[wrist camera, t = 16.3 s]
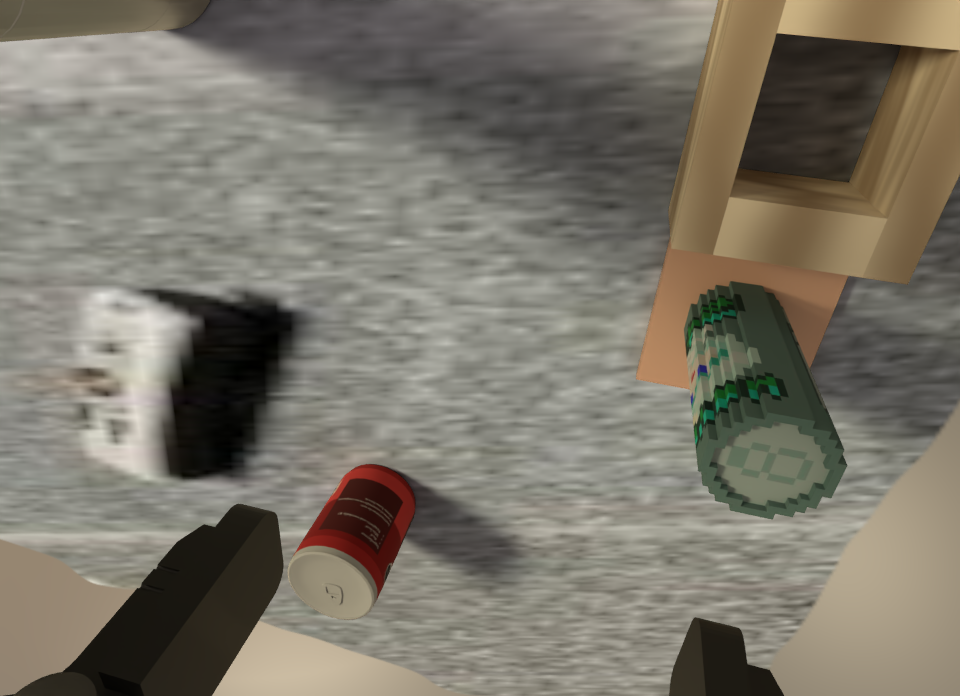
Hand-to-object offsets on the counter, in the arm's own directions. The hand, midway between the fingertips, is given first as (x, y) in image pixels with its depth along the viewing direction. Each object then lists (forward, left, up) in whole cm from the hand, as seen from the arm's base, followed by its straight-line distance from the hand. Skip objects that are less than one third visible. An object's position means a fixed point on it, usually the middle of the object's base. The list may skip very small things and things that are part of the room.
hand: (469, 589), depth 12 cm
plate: (+11, -9, -33) cm, 36 cm away
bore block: (+11, +5, -33) cm, 35 cm away
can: (+11, -9, -32) cm, 35 cm away
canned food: (-15, -33, -33) cm, 49 cm away
